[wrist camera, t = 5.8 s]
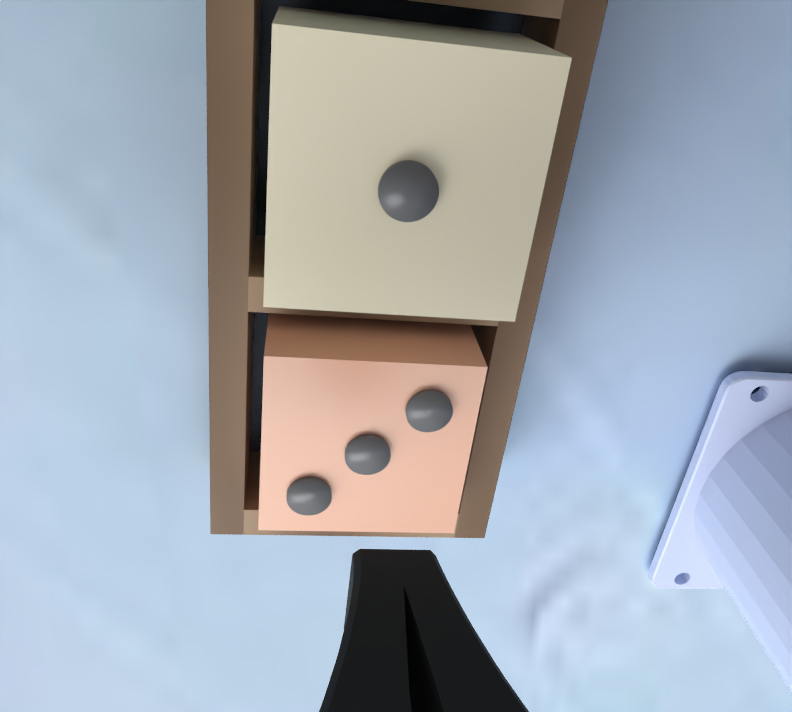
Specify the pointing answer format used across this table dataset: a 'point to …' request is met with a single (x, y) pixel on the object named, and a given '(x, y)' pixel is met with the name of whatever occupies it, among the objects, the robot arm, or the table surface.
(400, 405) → the tile three
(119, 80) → the table surface
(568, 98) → the tile tray
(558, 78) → the tile one
